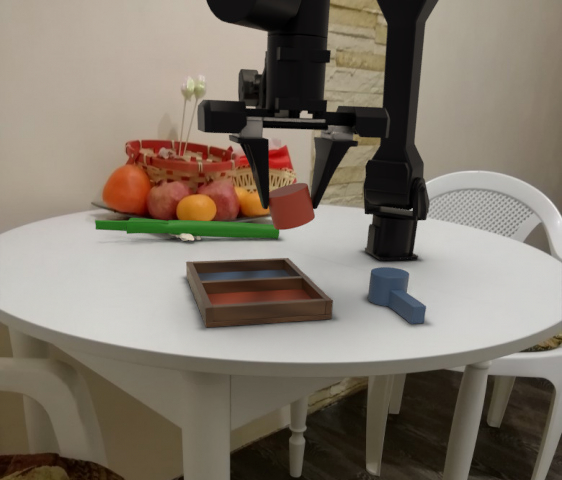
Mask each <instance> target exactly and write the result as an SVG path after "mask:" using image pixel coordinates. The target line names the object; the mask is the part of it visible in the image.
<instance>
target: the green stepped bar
mask: <svg viewBox="0 0 562 480" xmlns="http://www.w3.org/2000/svg"><path fill="white" fill-rule="evenodd" d="M94 223H95V230H99V231H100V230H101V231H118V232H119V231H120V232H125V233H126V234H127V235H128V234H167V235H168V236H172V237H175V238H177V239H180V240H181V241H183V242H187V241H188V240H189V241H195V239H196V241H201V239H202V237H203V238H204V237H205V238H207V237H208V238H209V237H210V238H233V239H234V238H235V239H236V238H238V239H249V238H250V239H274V240H275V239H279V237H280V230H278V229H275V228H274V225H273V223H272V224H271V223H255V222H254V223H251V222H240V221H239V222H238V221H218V220H217V221H216V220H215V221H214V220H194V219H193V220H190V219H170V220H169V219H168V220H164V219H154V218H141V217H129V219H128V220H111V219H110V220H109V219H108V220H107V219H106V220H105V219H104V220H103V219H95V220H94Z"/></svg>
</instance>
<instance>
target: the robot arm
mask: <svg viewBox="0 0 562 480" xmlns="http://www.w3.org/2000/svg"><path fill="white" fill-rule="evenodd" d="M205 1H206V4H207V6H208V8H209V10H210V12H211V13H212V14H213V16H214V17H215V18H217V19H218V20H219V21H221V22H223V23H226V24H231V25H235V26H239V27H243V28H247V29H253V30H258V31H262V32H267V34H266V35H267V37H266V38H267V39H266V40H267V42H266V51H264V52H265V57H264V66H263V70H262V73H259V71H258V69H249V68H247V69H246V68H241V69H240V70H239V72H238V76H237V77H238V78H237V79H238V82H237V83H238V84H237V95H238V98H237V99H238V100H222V99H221V100H220V99H202V100H201V101H200V102H199V104H198V105H197V110H196V111H197V112H196V115H197V117H196V118H197V130H198V131H200V132H203V133H206V134H228V140H229V141H230V142H233V143H235V144H238V145H239V146H240V147H241V150H242V152H243V153H244V155H245V158H246V161H247V162H248V165H249V167H250V171H251V173H252V177H253V180H254V184H255V188H256V191H257V194H258V199H259V201H260V204H261V205H260V206H261V208H262V209H264V210H269V207H268V203H269V192H270V154H269V153H270V150H269V149H270V146H269V145H270V143H269V142H270V141H269V138H266V137H263V135H264V134H263V133H264V129H276V130H277V129H278V130H280V129H281V130H284V129H285V130H310V131H311V130H313V131H320V136H314V137H313V141H314V150H315V152H314V153H315V157H314V165H313V172H312V181H311V186H310V187H311V188H310V197H311V201H312V206H313V210H316V209H318V207H319V205H320V203H321V201H322V200H323V199H322V198H323V197H324V195H325V192H326V191H327V188H328V186H329V184H330V182H331V180H332V178H333V176H334V175H335V173H336V171H337V169H338V167H339V166H340V164H341V163H342V161H343V159H344V157H345V156H346V154H347V153H348V151H349V149H351V148H357V147H358V146H359V140H354V135H357V136H358V137H359V138H367V139H369V138H371V139H380V141H379V147H378V148H377V150H376V151H375V153H374V154H373V156H372V157H371V159H368V160H367V162H366V163H365V168H364V170H365V177H364V181H363V186H362V189H363V190H362V192H363V206H364V214H365V215H371V216H372V221H371V223H370V224H369V225H368V229H367V231H368V232H367V241H366V247H365V248H364V252H366V253H367V254H369V255H370V256H372V257H374V258H375V259H376V260H379V261H407V260H418V259H419V256H418V255H417V254H415V253H414V250H415V244H416V236H417V229H418V223H419V221H427V217H428V214H429V212H430V211H429V209H430V204H431V203H430V202H431V201H430V198H429V193H428V187H427V183H426V180H425V178H424V170H425V169H424V168H425V163H424V160H423V159H422V157H421V154H420V152H419V150H418V148H417V146H416V144H415V141H416V129H417V121H418V109H419V99H420V98H419V97H420V87H421V86H420V85H421V76H422V65H423V54H424V43H425V33H426V32H425V31H426V23H427V20H428V19H429V18H430V16H431V14H432V12H433V11H434V9H435V8H436V5H437V4H438V2H439V1H440V0H376V3H377V5H378V7H379V9H380V12H381V14H382V16H383V19H384V21H385V22H386V37H385V39H386V42H385V54H384V55H385V57H384V70H383V71H384V74H383V89H382V90H383V91H382V104H381V105H382V106H381V107H378V106H359V105H357V106H356V105H337V108H336V111H327V109H328V99H325V85H326V71H327V64H330V63H331V52H332V51H331V49H328V41H329V40H328V39H329V38H328V37H329V23H330V9H331V0H205ZM248 107H249V108H248ZM252 107H253V108H252ZM302 112H307V115H311V117H301V114H302Z"/></svg>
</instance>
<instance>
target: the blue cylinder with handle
mask: <svg viewBox="0 0 562 480" xmlns="http://www.w3.org/2000/svg"><path fill="white" fill-rule="evenodd" d="M409 280H410V273H409V271H407V270H404V269H401V268H397V267H392V266H391V267H390V266H379V267H374V268H372V269H371V270H370V275H369V284H368V293H367V294H368V295H367V301H369V302H370V303H372V304H375V305H378V306H383V307H388V308H390V309H391V310H393V312H395V313H396V314H398V315H399V316H400V317H401V318H402V319H404V320H405V321H407V322H408V323H409V324H411V325H412V324H413V325H414V324H415V325H416V324H424V323H425V316H426V310H427V306H426V305H425V304H424V303H422V302H420V300H418V299H417V298H415V297H413V296H412V295H411V294H409V293H408V288H409Z"/></svg>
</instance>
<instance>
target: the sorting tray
mask: <svg viewBox="0 0 562 480" xmlns="http://www.w3.org/2000/svg"><path fill="white" fill-rule="evenodd" d="M185 267H186V268H185V269H186V279H187V282H188V284H189V287H190V289H191V292H192V295H193V297H194V300H195V303H196V305H197V307H198V311H199V313H200V315H201V316H200V317H201V318H202V321H203V323H204V326H205V328H219V327H235V326H250V325H262V324H264V325H265V324H276V323H277V324H278V323H292V322H306V321H321V320H332V317H333V316H332V314H333V303H334V300H333V299H332V298H331V297H330V296H329V295H328V294H327V293H326V292H325V291H323V289H322V288H320V287H319V286H318V285H317V284H316V283H315V282H314V281H313V280H312V279H311V278H310V277H309V276H308V275H307V274H305V272H304V271H302V270H301V268H300V267H298V266H297V264H295V262H293V261H292V260H291V259H290V258H289V257H277V258H249V259H224V260H223V259H222V260H196V261H195V260H193V261H186V262H185Z"/></svg>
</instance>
